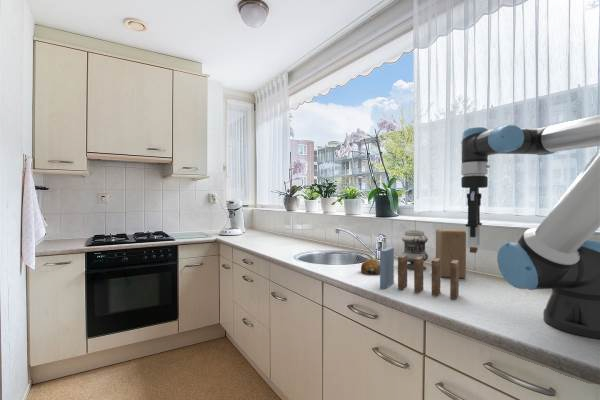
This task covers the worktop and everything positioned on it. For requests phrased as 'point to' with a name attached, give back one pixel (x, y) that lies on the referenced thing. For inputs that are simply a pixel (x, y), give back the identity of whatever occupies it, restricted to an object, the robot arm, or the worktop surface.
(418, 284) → the domino
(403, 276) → the domino
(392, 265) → the board
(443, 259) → the wooden block
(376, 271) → the brown furry rounded lump
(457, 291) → the domino
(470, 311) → the worktop surface
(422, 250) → the grey tall rounded piece
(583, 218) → the robot arm
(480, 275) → the worktop surface
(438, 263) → the domino
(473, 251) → the loose domino
